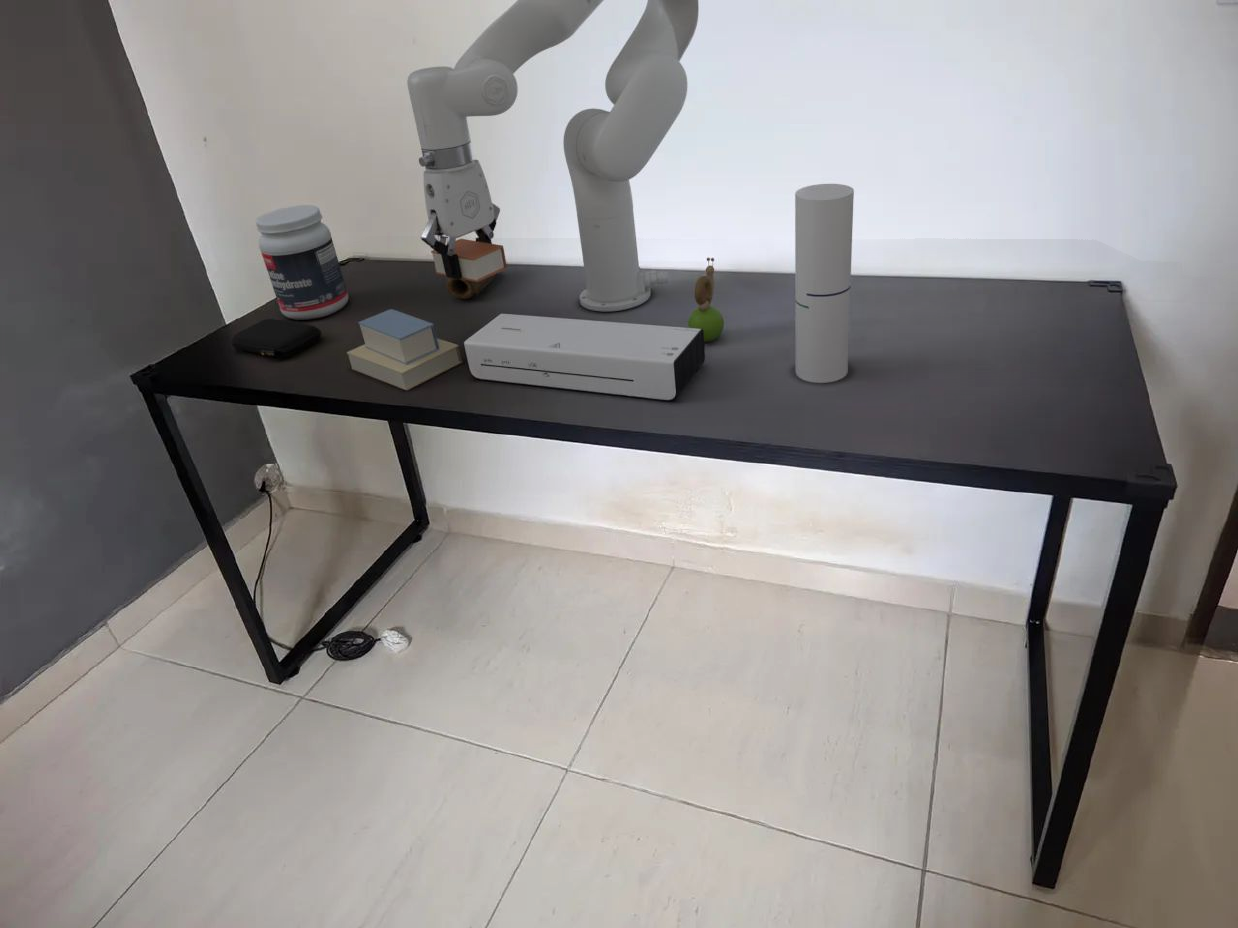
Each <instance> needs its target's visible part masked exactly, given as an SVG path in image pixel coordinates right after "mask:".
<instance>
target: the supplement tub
mask: <svg viewBox="0 0 1238 928" xmlns="http://www.w3.org/2000/svg"><path fill="white" fill-rule="evenodd" d="M321 213H322V212H321V210H320V208H319V207H318V206H315V205H312V204H311V205H310V204H303V205H292V206H287V207H282V208H278V209H275V210H272V211H269V212H266V213H264V214H262V215H259V216H258V217H257V218H256V219H255V225H256V228H257V231H258V232H259V233H261V235H260V237H259V240H258V247H259V250H260V253H261V256H262V258H263V262H264V265H265V268H266V271H267V274H268V277H269V280H270V283H271V285H272V289H273V293H274V295H275V298H276V301H277V304H278V306H279V311H280V312H281V314H282V315H283V316H284V317H286V318H288V319H291V320H295V321H309V320H317V319H322V318H325V317H328V316H331V315H333V314H335V313H336V312H338V311H340V310H342V309H343V308H344V307H345V306H346V305H347V303H348V301H349V293H348V290H347V286H346V282H345V279H344V276H343V273H342V268H341V266H340V262H339V258H338V255H337V252H336V248H335V244H334V242H333V241H334V240H333V237H332V233H331V231H330V229H329V227H328V226H327V225H326V224H325V223H323V222H322V219H323V215H322V214H321Z"/></svg>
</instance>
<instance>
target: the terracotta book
mask: <svg viewBox="0 0 1238 928" xmlns="http://www.w3.org/2000/svg"><path fill="white" fill-rule="evenodd" d="M445 245H446V246H447V244H445ZM430 253H431V254H432V258H433V262H434V268H435V274H436V275H442V276H446V273H445V270H444V265H443V261H442V256H441V254H438V253H437V251H435V250H434V249H432V250H431V251H430ZM454 254H457V255H458V259H459V264H460V269H461V273H462V278H461V279H465V280H470V281H475V282H479V281H481V280H483V279H486V278H488V277H490V276H492V275H494V274H496V273H498V274H499V273H500V272H503V271H505V270H507V269H508V265H507V260H506V255H505V249H504V245H503V244H496V243H492V244H490V243H484V242H478V241H476V240H473V239H465V238H459V239H456V241H455V248H454Z"/></svg>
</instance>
